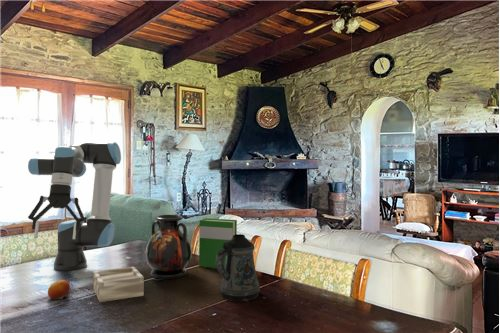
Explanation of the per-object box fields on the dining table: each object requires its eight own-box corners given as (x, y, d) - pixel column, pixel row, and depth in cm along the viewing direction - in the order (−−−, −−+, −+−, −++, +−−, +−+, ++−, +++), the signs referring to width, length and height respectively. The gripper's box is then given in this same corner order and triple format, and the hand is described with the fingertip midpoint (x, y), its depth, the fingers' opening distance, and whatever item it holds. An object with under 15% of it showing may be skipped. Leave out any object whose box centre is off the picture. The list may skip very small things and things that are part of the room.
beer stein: (264, 291, 174) (265, 233, 173) (249, 307, 155) (250, 242, 154) (228, 286, 179) (229, 229, 178) (210, 301, 161) (211, 238, 160)
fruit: (65, 298, 157) (56, 280, 158) (50, 307, 159) (40, 289, 159) (78, 291, 165) (69, 274, 166) (63, 300, 167) (54, 282, 167)
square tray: (93, 288, 173) (93, 271, 172) (134, 283, 181) (134, 266, 181) (99, 302, 158) (99, 283, 158) (143, 295, 166) (143, 277, 166)
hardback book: (236, 265, 211) (236, 219, 210) (231, 269, 204) (232, 222, 203) (204, 263, 216) (204, 217, 215) (198, 266, 208) (199, 220, 207)
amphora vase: (135, 278, 188) (136, 218, 187) (162, 266, 208) (162, 211, 207) (175, 284, 180) (176, 221, 179) (199, 271, 200) (200, 215, 199)
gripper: (24, 181, 156) (16, 237, 151) (94, 185, 164) (88, 239, 159) (28, 184, 163) (21, 238, 158) (94, 188, 171) (89, 239, 166)
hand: (54, 238), depth 159 cm, fingers open, 13 cm apart
